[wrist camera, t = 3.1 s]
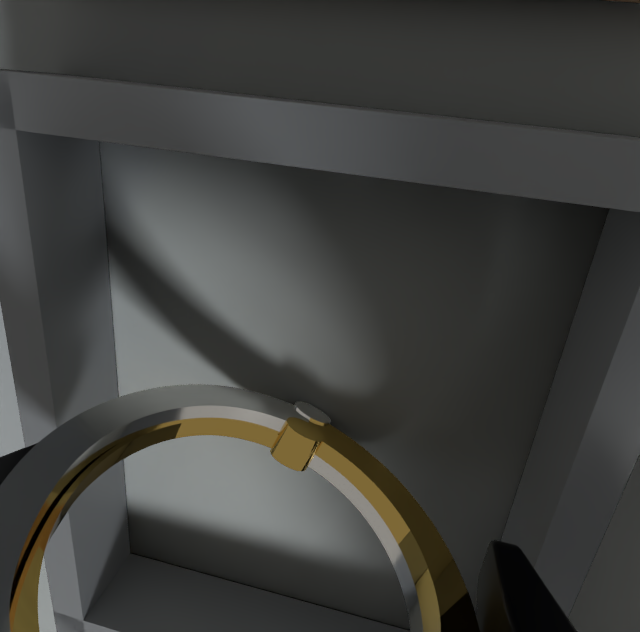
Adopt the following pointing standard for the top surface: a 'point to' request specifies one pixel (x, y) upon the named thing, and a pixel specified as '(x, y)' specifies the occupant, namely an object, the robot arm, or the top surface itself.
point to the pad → (634, 0)
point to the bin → (320, 154)
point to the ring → (233, 421)
